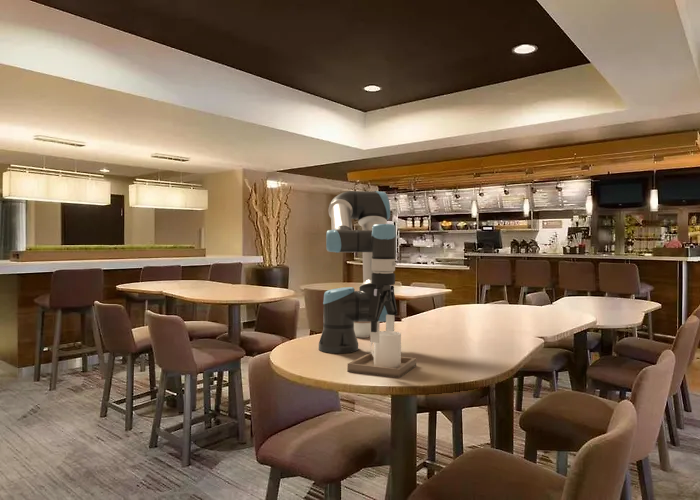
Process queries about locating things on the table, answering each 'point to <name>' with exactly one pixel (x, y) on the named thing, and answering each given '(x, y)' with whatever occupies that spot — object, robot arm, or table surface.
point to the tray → (367, 367)
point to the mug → (387, 349)
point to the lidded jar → (362, 329)
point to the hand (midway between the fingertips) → (382, 338)
